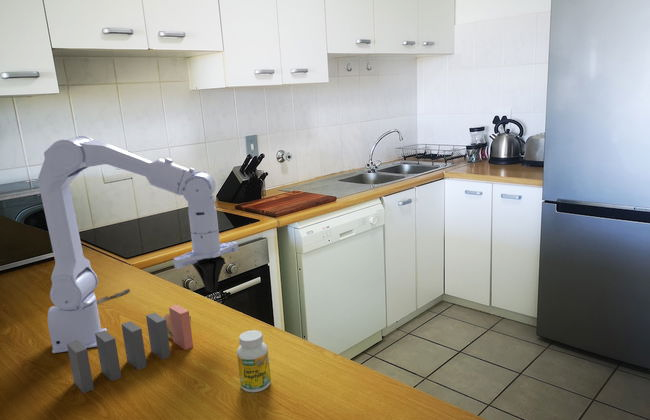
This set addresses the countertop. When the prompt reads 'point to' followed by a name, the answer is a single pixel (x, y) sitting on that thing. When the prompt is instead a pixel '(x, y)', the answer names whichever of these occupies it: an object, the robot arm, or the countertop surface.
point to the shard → (169, 325)
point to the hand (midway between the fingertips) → (211, 290)
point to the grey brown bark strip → (112, 296)
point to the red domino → (181, 326)
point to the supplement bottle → (253, 362)
